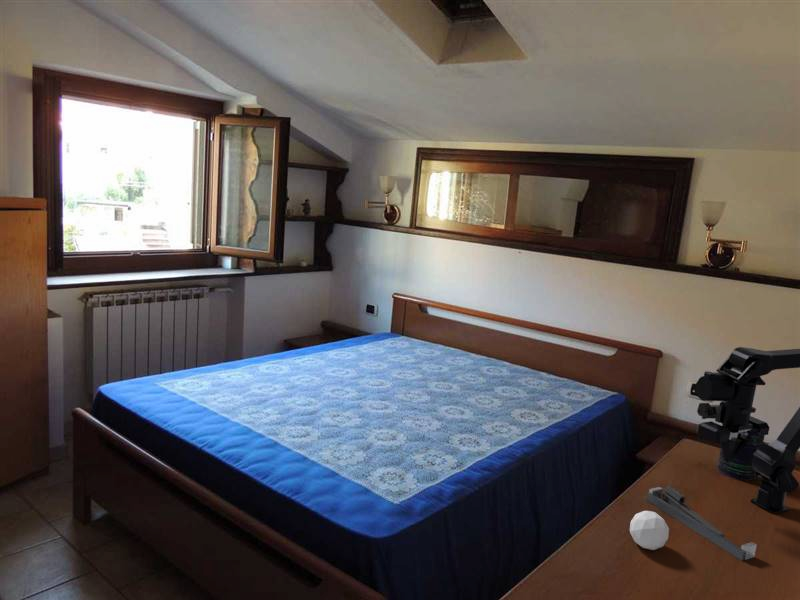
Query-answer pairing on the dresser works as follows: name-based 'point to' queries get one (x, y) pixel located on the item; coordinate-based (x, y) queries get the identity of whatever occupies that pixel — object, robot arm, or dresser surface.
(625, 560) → the dresser surface
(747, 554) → the end cap rail
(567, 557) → the dresser surface
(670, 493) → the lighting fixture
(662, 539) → the geometric ball
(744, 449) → the storage jar
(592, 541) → the dresser surface
